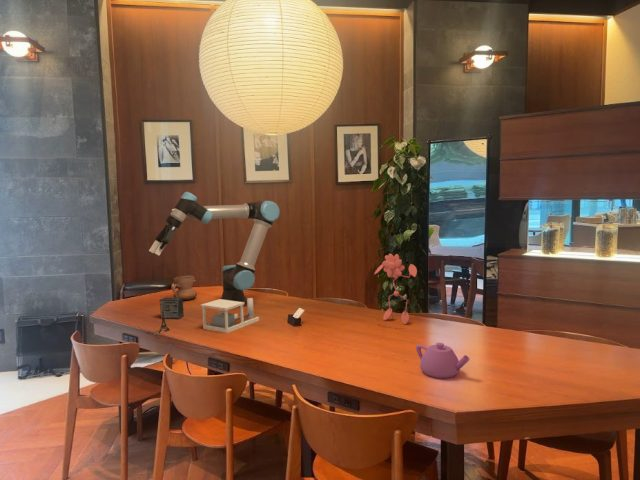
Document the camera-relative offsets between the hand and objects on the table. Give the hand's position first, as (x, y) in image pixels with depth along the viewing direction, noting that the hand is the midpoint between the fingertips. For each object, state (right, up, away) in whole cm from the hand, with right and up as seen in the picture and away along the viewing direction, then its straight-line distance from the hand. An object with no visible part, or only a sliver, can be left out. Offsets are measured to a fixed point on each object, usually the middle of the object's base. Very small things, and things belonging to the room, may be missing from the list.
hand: (153, 253), depth 240 cm
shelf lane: (+43, -36, -12) cm, 57 cm away
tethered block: (+44, -35, -9) cm, 57 cm away
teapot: (+130, -41, -74) cm, 155 cm away
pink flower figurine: (+122, -35, -11) cm, 128 cm away
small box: (+7, -35, +8) cm, 37 cm away
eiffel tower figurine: (+11, -38, -18) cm, 44 cm away
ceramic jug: (+1, -31, +51) cm, 60 cm away
